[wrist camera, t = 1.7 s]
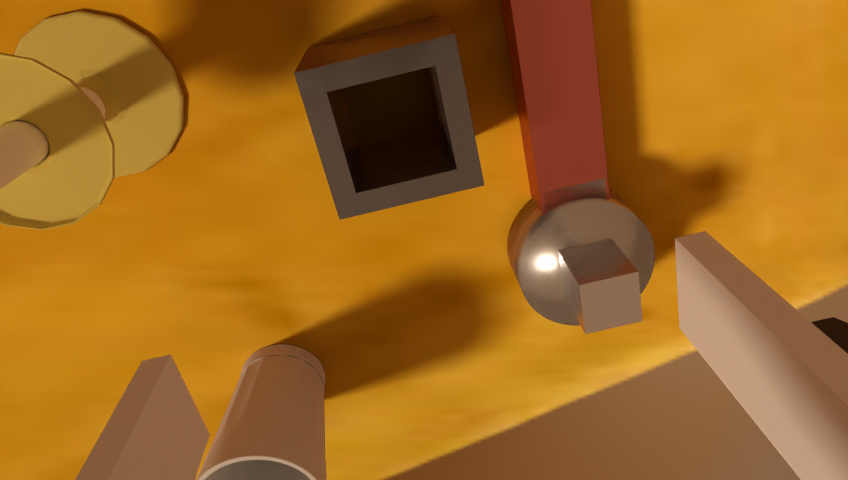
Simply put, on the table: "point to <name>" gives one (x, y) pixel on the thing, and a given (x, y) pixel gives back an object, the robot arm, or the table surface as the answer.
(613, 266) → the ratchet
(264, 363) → the cup
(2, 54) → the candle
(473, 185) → the socket
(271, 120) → the table surface
